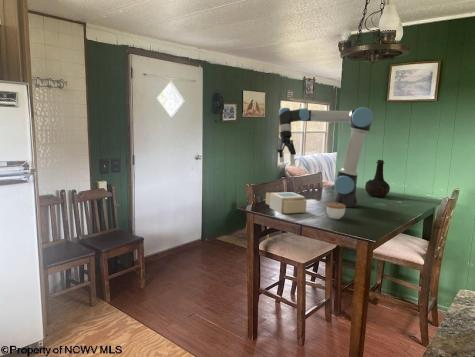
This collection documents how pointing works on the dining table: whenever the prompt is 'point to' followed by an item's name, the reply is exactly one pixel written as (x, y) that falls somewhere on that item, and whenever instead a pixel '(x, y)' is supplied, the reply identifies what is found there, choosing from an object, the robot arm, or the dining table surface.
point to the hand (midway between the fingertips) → (287, 163)
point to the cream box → (281, 199)
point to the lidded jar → (335, 210)
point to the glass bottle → (378, 183)
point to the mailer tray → (290, 204)
